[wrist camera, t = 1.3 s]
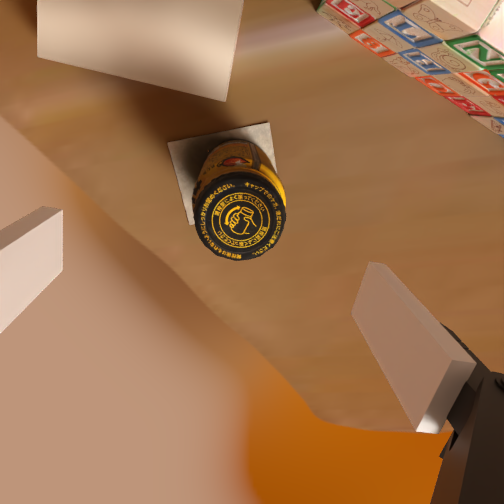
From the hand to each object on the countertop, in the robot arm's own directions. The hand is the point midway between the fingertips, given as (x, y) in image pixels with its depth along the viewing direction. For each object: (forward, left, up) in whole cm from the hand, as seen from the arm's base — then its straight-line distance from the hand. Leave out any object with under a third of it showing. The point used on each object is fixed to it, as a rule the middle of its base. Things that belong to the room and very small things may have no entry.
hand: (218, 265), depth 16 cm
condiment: (0, 0, -17) cm, 17 cm away
